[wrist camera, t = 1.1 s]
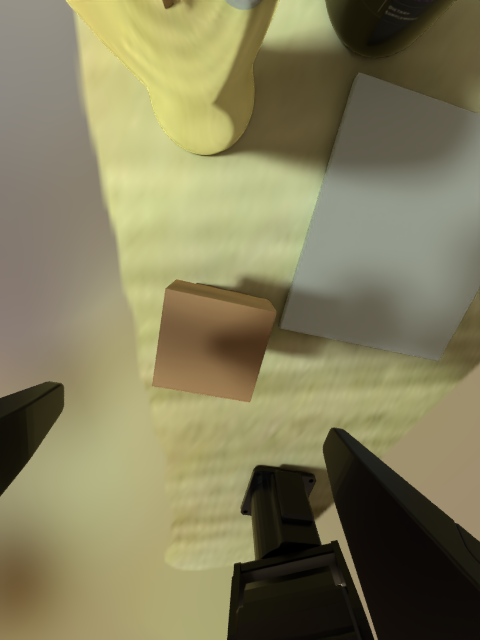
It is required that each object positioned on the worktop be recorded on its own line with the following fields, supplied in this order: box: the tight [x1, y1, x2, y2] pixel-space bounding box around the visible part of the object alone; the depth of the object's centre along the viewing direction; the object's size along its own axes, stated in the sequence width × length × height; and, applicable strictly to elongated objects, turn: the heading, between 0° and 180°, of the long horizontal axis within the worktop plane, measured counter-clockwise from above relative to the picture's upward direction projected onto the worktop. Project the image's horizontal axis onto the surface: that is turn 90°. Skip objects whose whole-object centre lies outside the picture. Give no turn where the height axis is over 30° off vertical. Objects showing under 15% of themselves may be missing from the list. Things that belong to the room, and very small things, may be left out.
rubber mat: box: [279, 72, 480, 361], centre depth 17 cm, size 16×14×1 cm
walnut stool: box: [152, 280, 277, 402], centre depth 16 cm, size 6×6×6 cm
